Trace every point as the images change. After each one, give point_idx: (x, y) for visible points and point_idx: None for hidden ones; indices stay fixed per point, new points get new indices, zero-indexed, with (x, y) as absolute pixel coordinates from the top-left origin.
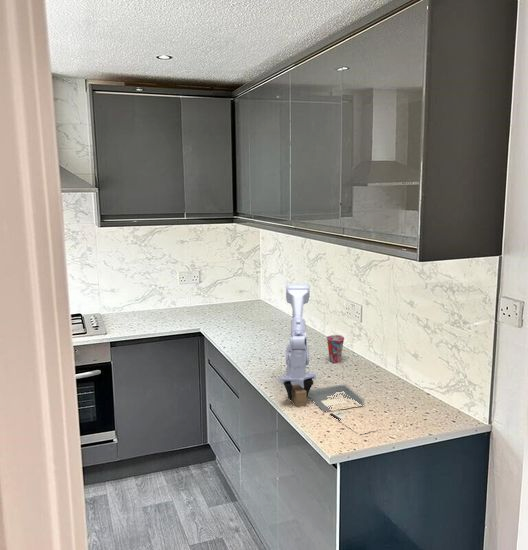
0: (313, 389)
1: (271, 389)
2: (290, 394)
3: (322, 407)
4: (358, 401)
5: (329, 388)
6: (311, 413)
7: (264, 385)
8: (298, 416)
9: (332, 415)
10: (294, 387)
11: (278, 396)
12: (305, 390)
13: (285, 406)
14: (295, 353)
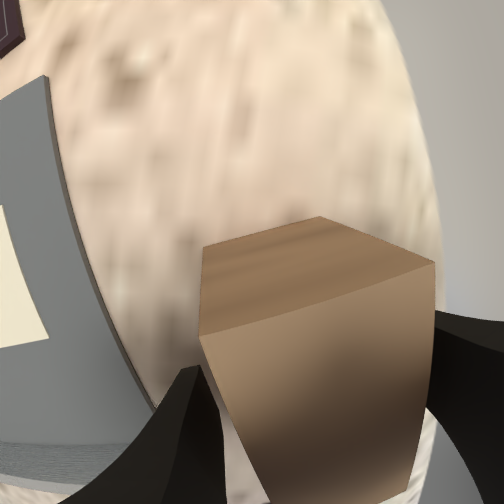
0: None
1: None
2: (448, 319)
3: (33, 175)
4: None
5: (9, 468)
6: (176, 51)
7: (405, 497)
8: (326, 13)
9: (10, 14)
10: (380, 467)
11: None
12: (205, 450)
13: (415, 248)
14: None
